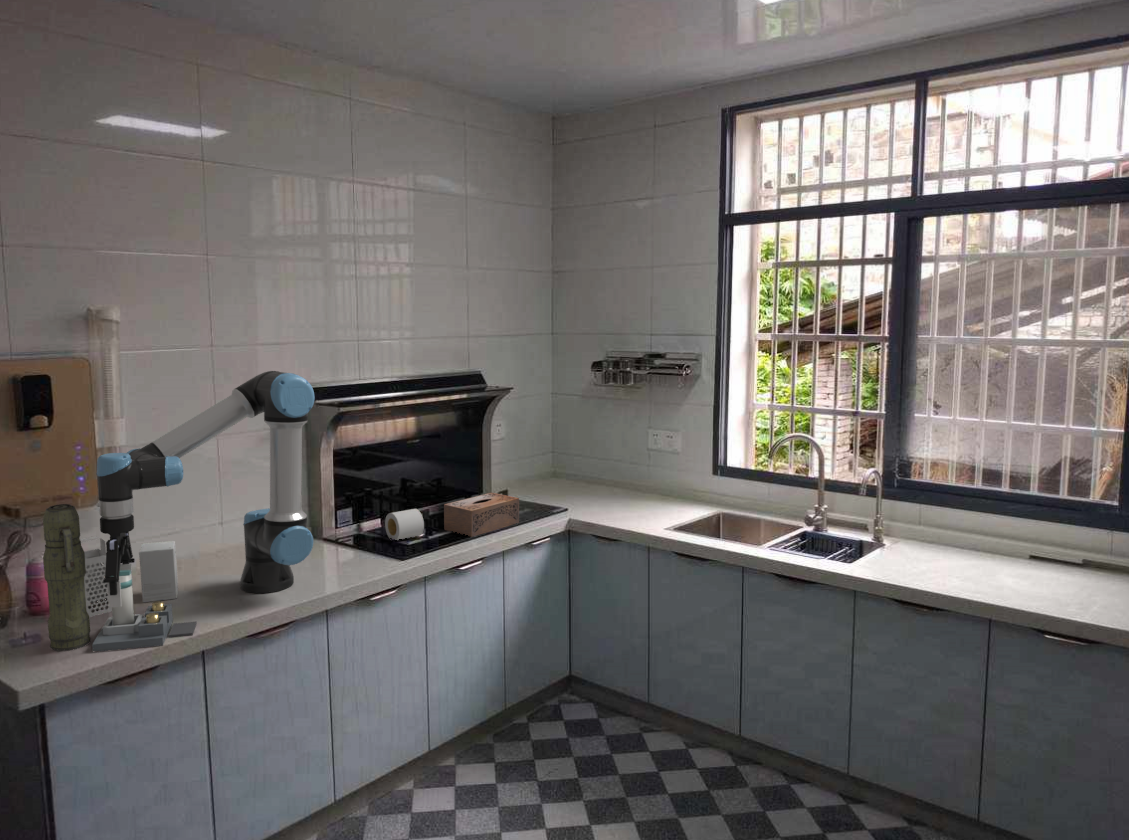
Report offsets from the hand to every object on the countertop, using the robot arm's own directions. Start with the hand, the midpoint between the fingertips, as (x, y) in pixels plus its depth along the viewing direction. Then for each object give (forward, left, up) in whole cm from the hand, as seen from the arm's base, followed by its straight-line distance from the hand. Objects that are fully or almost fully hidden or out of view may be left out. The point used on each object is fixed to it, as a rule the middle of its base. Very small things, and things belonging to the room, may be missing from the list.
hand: (121, 597), depth 214 cm
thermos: (+12, +2, -10) cm, 16 cm away
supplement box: (-4, -29, -11) cm, 31 cm away
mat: (-14, 0, -10) cm, 17 cm away
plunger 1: (-8, -4, -8) cm, 12 cm away
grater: (+12, -22, -11) cm, 27 cm away
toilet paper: (-78, -71, -11) cm, 106 cm away
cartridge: (0, 0, -8) cm, 8 cm away
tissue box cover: (-108, -80, -11) cm, 135 cm away
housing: (-3, +1, -10) cm, 11 cm away
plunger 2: (-8, +4, -8) cm, 12 cm away
